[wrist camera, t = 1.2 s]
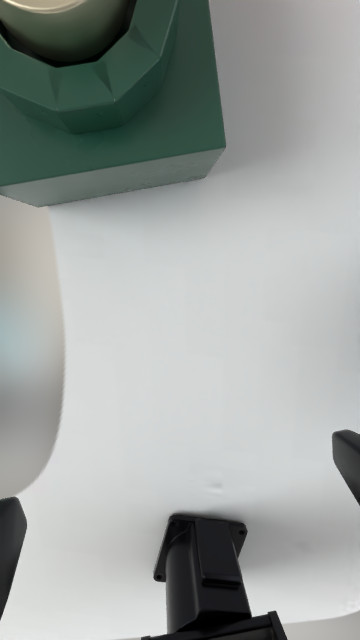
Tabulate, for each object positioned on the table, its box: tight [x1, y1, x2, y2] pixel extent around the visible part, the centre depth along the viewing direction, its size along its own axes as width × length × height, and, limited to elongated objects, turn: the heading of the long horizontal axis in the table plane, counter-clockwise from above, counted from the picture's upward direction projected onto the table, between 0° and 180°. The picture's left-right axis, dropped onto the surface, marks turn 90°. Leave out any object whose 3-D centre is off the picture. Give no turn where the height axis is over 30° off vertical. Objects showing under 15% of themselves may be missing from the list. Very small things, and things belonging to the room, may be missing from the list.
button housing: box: [0, 0, 226, 207], centre depth 12 cm, size 10×10×8 cm
